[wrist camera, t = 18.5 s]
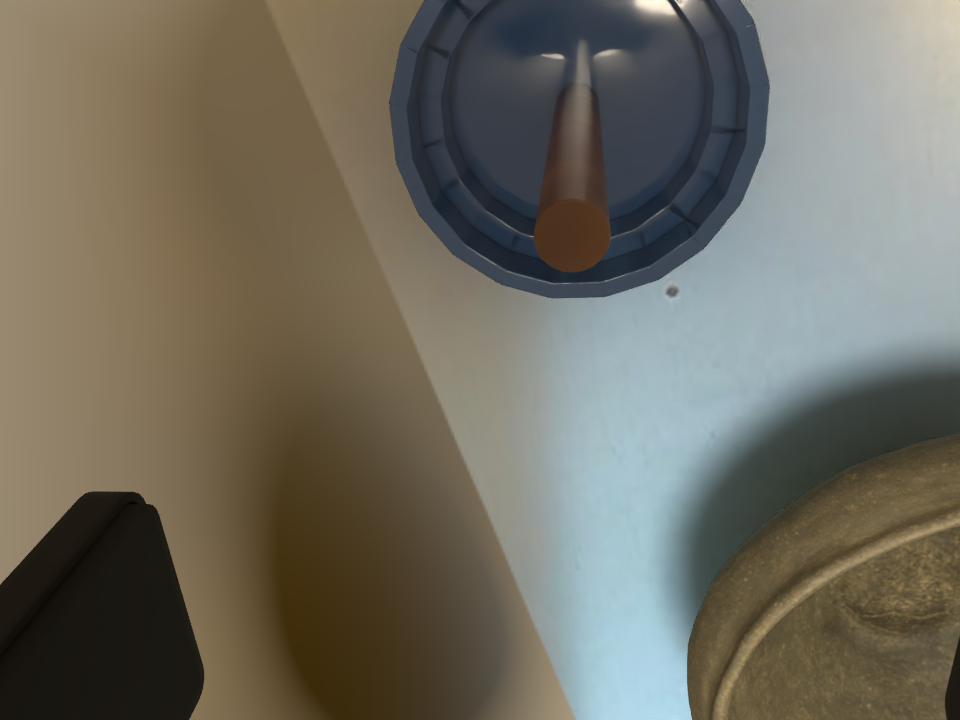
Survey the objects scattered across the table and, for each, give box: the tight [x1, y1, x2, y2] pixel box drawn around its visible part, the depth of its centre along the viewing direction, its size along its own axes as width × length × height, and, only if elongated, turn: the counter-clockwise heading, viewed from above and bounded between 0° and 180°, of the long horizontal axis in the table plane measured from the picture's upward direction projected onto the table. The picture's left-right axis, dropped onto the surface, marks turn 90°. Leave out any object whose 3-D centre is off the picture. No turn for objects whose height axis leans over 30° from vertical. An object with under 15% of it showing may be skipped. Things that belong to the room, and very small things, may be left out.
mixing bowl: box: [389, 0, 770, 298], centre depth 37 cm, size 16×16×6 cm
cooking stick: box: [534, 84, 611, 272], centre depth 31 cm, size 2×2×20 cm
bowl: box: [687, 433, 960, 720], centre depth 43 cm, size 28×28×14 cm
